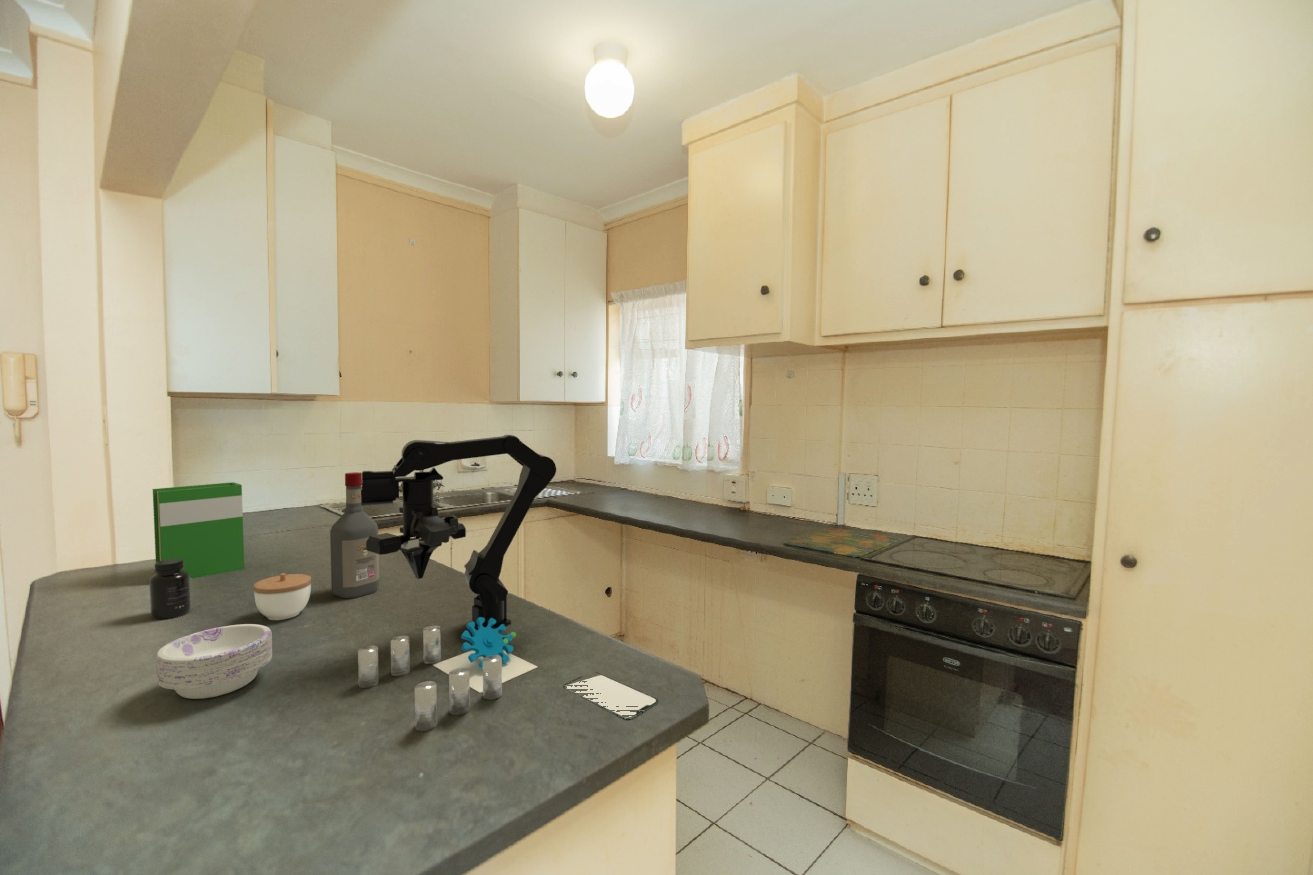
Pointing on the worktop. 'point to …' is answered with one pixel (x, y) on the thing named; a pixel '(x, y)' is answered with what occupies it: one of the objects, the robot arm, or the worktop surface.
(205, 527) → the hardback book
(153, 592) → the supplement bottle
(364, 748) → the worktop surface
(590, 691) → the smartphone
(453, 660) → the pad
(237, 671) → the paper bowls
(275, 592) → the lidded jar
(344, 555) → the liquor
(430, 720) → the posts
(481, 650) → the gear
